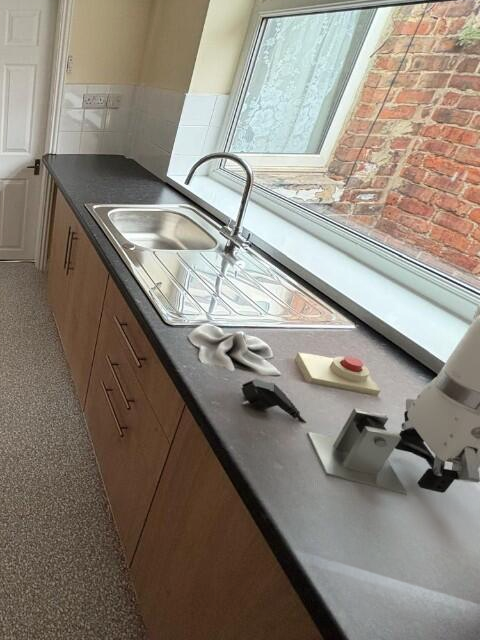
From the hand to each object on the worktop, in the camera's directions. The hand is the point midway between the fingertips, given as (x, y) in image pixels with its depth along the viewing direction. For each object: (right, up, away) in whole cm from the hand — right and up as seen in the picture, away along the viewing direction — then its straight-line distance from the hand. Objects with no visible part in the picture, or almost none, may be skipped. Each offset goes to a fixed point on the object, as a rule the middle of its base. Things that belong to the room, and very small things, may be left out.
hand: (416, 467), depth 70 cm
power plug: (-14, +4, +14) cm, 20 cm away
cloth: (-12, +12, +30) cm, 35 cm away
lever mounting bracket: (-8, -1, +4) cm, 9 cm away
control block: (+6, +8, +23) cm, 25 cm away
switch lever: (-4, +4, 0) cm, 6 cm away
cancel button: (+8, +11, +21) cm, 25 cm away
